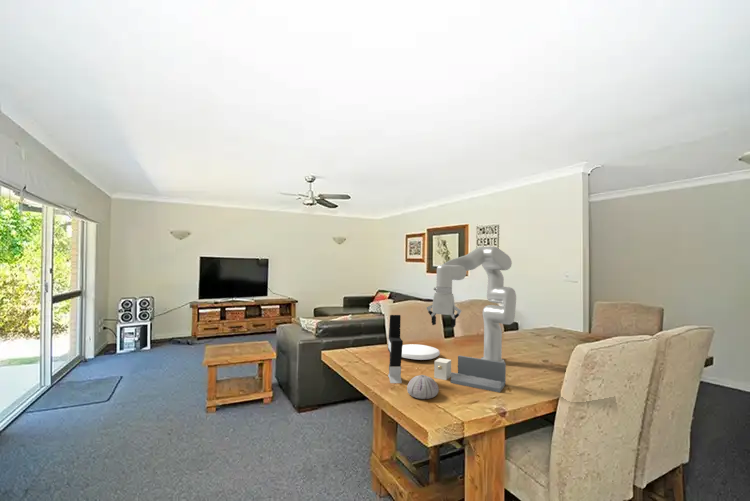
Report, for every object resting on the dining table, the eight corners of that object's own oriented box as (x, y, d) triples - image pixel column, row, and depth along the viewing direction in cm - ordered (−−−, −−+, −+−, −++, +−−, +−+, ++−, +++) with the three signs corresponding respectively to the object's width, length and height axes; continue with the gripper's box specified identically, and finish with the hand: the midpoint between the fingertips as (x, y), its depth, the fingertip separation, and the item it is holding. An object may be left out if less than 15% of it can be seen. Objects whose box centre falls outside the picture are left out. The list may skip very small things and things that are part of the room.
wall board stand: (458, 375, 179) (458, 355, 179) (505, 384, 168) (505, 362, 168) (450, 382, 169) (450, 361, 169) (499, 392, 157) (500, 369, 158)
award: (386, 374, 180) (388, 312, 180) (397, 373, 180) (398, 312, 181) (390, 384, 164) (392, 317, 165) (402, 384, 165) (403, 317, 166)
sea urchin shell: (445, 397, 151) (445, 377, 151) (420, 403, 144) (420, 383, 144) (424, 387, 162) (424, 369, 163) (399, 393, 155) (400, 374, 155)
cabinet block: (439, 374, 181) (439, 357, 182) (451, 376, 178) (451, 359, 179) (433, 378, 175) (433, 361, 175) (445, 380, 171) (445, 363, 172)
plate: (397, 341, 230) (440, 344, 225) (396, 352, 229) (440, 355, 224) (390, 347, 203) (439, 351, 198) (389, 359, 202) (438, 363, 197)
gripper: (424, 289, 179) (423, 324, 179) (459, 292, 170) (458, 329, 170) (430, 289, 186) (429, 322, 185) (463, 291, 177) (463, 326, 176)
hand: (443, 325), depth 178 cm, fingers open, 9 cm apart
